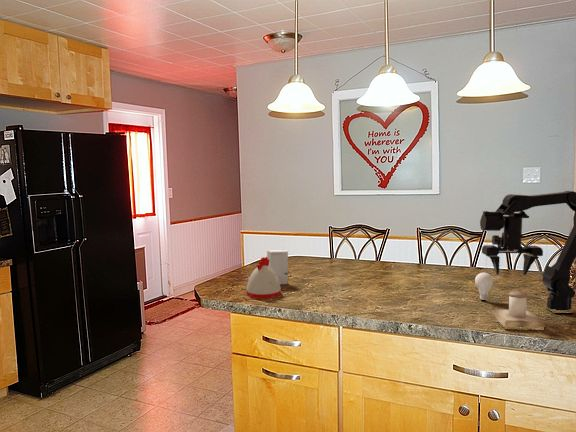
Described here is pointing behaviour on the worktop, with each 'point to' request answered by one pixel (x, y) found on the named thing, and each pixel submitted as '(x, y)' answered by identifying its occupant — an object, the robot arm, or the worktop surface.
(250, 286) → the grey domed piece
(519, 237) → the robot arm
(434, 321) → the worktop surface
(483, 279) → the lightbulb
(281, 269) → the skincare box
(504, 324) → the block
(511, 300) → the spice tin
